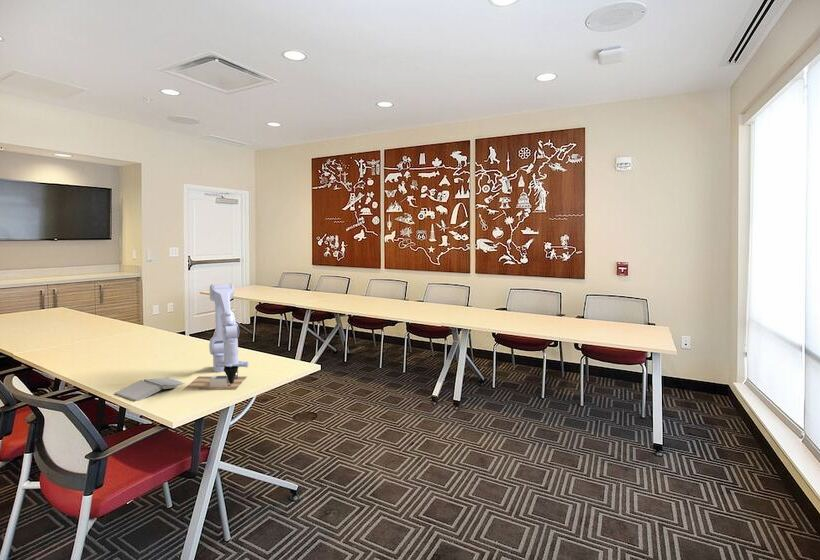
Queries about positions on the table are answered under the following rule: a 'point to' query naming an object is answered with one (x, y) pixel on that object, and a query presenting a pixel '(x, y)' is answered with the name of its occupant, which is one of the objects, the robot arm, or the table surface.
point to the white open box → (219, 381)
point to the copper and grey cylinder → (236, 375)
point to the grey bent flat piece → (147, 388)
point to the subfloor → (204, 384)
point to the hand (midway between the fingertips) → (231, 382)
